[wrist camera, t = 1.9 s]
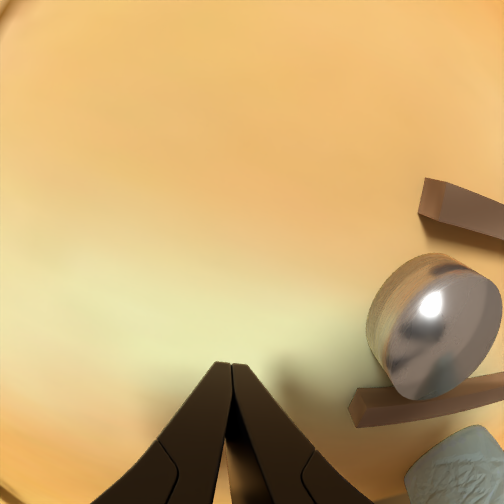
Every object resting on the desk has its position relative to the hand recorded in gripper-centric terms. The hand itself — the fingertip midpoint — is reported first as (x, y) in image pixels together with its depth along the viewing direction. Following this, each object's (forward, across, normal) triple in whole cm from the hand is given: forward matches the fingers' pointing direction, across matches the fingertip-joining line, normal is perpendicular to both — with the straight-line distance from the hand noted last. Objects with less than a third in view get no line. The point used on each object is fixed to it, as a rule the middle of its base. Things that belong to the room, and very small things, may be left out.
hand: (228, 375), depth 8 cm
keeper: (+5, -9, 0) cm, 10 cm away
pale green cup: (+5, -20, +14) cm, 25 cm away
